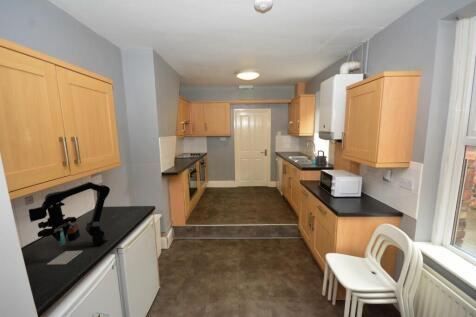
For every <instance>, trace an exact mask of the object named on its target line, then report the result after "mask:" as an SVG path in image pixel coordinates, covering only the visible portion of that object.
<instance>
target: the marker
mask: <svg viewBox="0 0 476 317" xmlns="http://www.w3.org/2000/svg"><path fill="white" fill-rule="evenodd" d="M58 231H60V241H57V242H58V246H60V247H63V246H65V245H66V244H67V242H66V237H64V233H63V227H60V228H58Z"/></svg>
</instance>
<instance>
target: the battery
mask: <svg viewBox="0 0 476 317" xmlns="http://www.w3.org/2000/svg"><path fill="white" fill-rule="evenodd" d="M80 236H81V233H80V228H79V224H78V223H77V224H75V223H72V224H71V226H70V227H69V229H68V232H67V234H66V237H67V240H68V242H73V241H76V240H77V239H79V237H80Z"/></svg>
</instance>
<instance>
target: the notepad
mask: <svg viewBox="0 0 476 317" xmlns="http://www.w3.org/2000/svg"><path fill="white" fill-rule="evenodd" d="M81 253H83V250H65V251H63V253H61V254H59V255H58V256H57V257H55V258H54V259H52V260H51V261H49V262H48V263H46V266H60V265H67V264H68V263H69V262H71V261H72V260H73V259H75V257H77V256H79V255H80V254H81Z"/></svg>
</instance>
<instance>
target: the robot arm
mask: <svg viewBox="0 0 476 317" xmlns="http://www.w3.org/2000/svg"><path fill="white" fill-rule="evenodd" d="M88 190H92V191H95V192H96V202H95V206H94V210H93V214H92V218H91V221H90V222H87V223H86V227H85V230H86V232H87V234H88V235H89V236H91V241H92V245H90V246H91V248H92V247H94V248H95V247H101V246H103V245H104V244H105V243H106V242H108V239H106V238H105V231H103V229H101V223H100V221H101V217H102V213H103V209H104V204H105V200H106V199H107V198H108V197H109V194H110V191H111V189H110V187H109V186H107V185H105V184H101V185H100V184H96V183H94V182H91V181H87V182H85V183H82V184H79V185H78V186H74V187H71V188H68V189H66V190H62V191H55V192H50V193H47V194H46V196H44V201H43V203H42V204H41V206H38V207H35V208H30V209H28V214H29V215H28V217H29V220H30V223H33V222H36V221H39V220H42V221H41V222H39V223H37V227H38V228H39V229H40V230H39V231H38V232H37V237H38V238H44V237H50V236H51V237H53V238H54V239H55V241H57V242H58V241H60V231H58V228H60V227H63V233H64V237H65V238H66V237H67V232H68V229H69V227H70V226H71V225H72V224H75V223H76V222H77V220H78V219H77V218H76V217H75V216H67V217H66V215H65V214H63V210H62V207H64V206H65V205H66V204H65V202H62V201H64V200H65V199H67V198H69V197H72V196H74V195H77V194H80V193H82V192H86V191H88ZM46 217H47V219H46ZM64 217H66V218H64ZM43 219H46V221H43ZM70 223H72V224H70Z"/></svg>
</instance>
